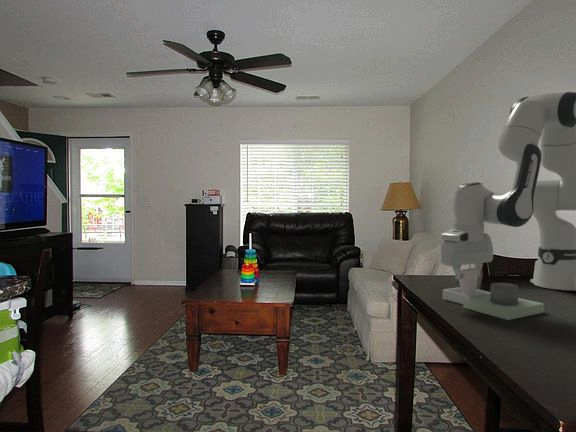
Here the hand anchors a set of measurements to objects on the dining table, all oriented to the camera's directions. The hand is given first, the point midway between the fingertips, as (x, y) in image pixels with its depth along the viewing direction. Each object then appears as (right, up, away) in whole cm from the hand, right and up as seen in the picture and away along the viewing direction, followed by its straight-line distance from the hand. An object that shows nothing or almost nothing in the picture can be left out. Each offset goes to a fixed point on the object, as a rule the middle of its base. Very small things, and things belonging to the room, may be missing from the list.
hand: (467, 278), depth 127 cm
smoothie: (0, -7, 0) cm, 7 cm away
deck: (+3, -7, -6) cm, 10 cm away
